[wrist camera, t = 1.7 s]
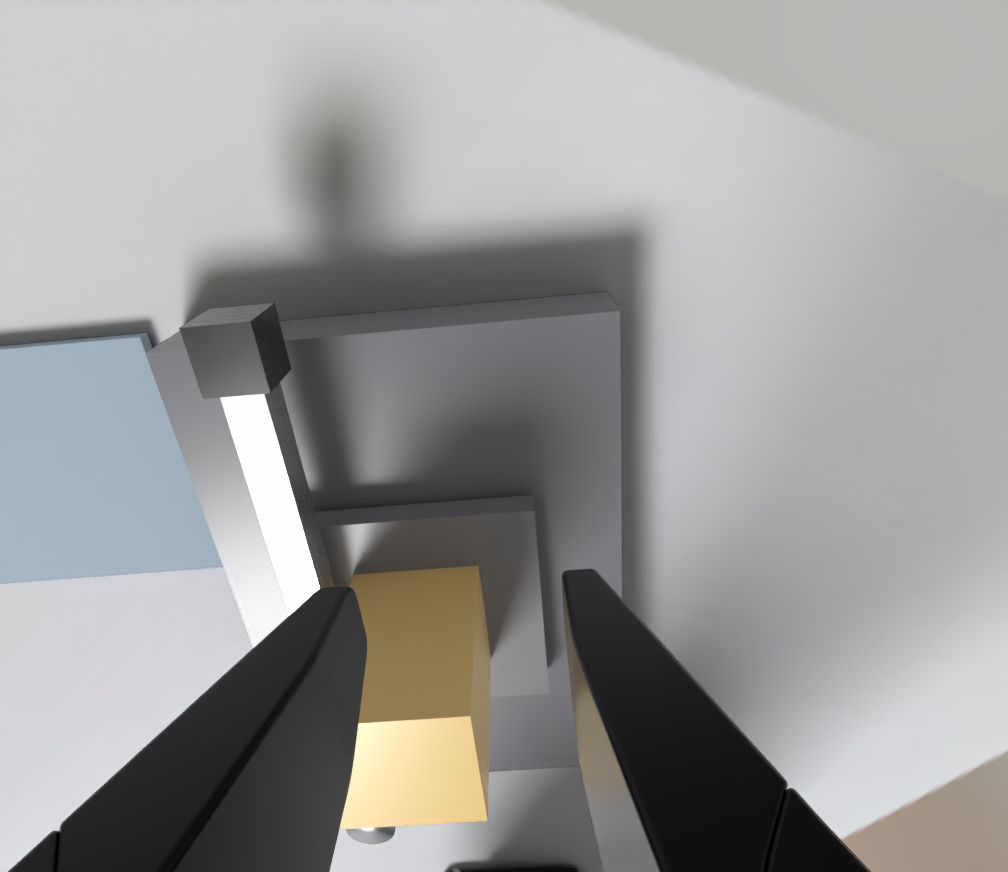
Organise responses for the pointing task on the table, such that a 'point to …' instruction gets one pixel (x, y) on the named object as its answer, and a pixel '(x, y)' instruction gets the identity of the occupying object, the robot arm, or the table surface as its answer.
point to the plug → (436, 648)
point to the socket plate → (437, 453)
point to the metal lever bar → (265, 447)
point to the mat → (92, 466)
